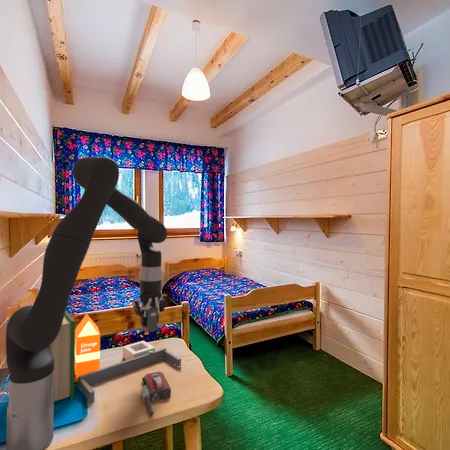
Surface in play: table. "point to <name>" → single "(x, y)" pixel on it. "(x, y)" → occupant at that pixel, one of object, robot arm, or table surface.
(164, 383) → the walkie-talkie
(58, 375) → the hardback book
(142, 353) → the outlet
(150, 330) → the plug
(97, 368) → the orange juice
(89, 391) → the cradle
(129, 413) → the table surface
